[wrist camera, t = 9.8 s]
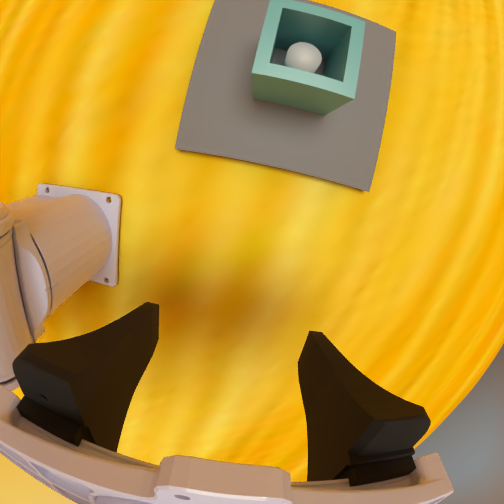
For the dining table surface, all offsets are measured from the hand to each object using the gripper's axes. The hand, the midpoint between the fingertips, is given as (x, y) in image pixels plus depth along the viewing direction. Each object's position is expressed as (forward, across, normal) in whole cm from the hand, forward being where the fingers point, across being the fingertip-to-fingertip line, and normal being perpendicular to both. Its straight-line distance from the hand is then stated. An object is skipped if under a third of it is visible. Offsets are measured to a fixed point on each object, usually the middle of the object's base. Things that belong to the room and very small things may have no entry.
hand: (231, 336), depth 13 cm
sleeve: (+8, -1, -14) cm, 17 cm away
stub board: (+9, -1, -15) cm, 17 cm away
